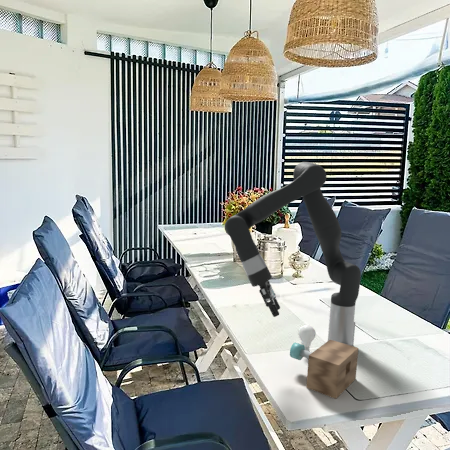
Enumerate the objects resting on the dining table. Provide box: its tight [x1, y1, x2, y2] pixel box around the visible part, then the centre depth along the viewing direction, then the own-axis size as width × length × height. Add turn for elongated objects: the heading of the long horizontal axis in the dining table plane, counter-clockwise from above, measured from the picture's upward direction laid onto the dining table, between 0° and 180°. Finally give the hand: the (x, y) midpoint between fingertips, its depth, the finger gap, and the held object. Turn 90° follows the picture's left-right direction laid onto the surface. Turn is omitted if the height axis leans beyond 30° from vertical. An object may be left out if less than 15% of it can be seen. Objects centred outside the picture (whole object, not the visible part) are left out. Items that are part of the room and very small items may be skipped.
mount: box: [306, 340, 359, 400], centre depth 144 cm, size 12×16×11 cm
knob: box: [289, 342, 314, 361], centre depth 148 cm, size 15×5×5 cm, turn 53°
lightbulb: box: [297, 324, 317, 351], centre depth 165 cm, size 6×6×11 cm
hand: (277, 312), depth 151 cm, fingers open, 8 cm apart
